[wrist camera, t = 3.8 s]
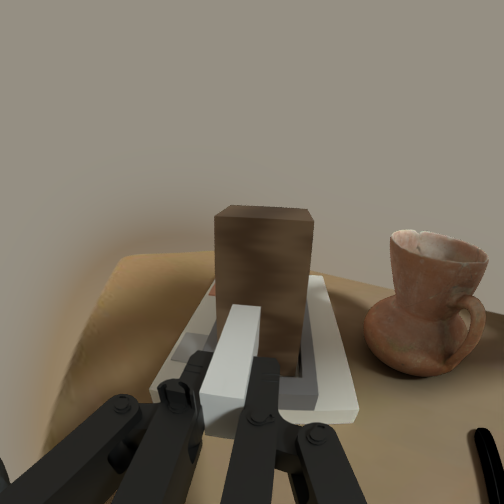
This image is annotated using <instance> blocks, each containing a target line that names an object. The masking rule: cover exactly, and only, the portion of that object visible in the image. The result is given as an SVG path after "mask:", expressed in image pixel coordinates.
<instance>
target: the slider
mask: <svg viewBox="0 0 504 504" xmlns="http://www.w3.org/2000/svg"><path fill="white" fill-rule="evenodd" d="M214 221H215V222H214V226H215V228H214V232H215V233H214V234H215V291H216V321H217V344H218V341H219V339H220V336H221V334H222V331H223V328H224V326H225V323H226V320H227V318H228V315H229V312H230V310H231V307H232V305H233V304H236V305H248V306H259V307H261V312H260V329H259V345H258V353H257V357H269V358H276V359H277V361H278V363H279V364H280V375H283V376H295V373H296V367H297V361H298V355H299V349H300V342H301V335H302V328H303V321H304V314H305V306H306V298H307V290H308V281H309V272H310V263H311V252H312V241H313V230H314V220H313V218H312V217H311V215H310V213H309V211H308V210H307V209H299V208H282V207H264V206H241V205H230V206H229V207H227V208H226V209H224V210H223V211H221V212H220V213H218V214H217V215H215V217H214Z"/></svg>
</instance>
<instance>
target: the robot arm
mask: <svg viewBox="0 0 504 504" xmlns="http://www.w3.org/2000/svg"><path fill="white" fill-rule="evenodd" d="M260 312H261V307H259V306H248V305H236V304H233V305H232V307H231V310H230V312H229V315H228V318H227V320H226V323H225V326H224V328H223V331H222V334H221V336H220V339H219V341H218V344H217V347H216V349H215V352H208V351H201V350H197V351H196V352H195V353H194V354H192V355H191V356H190V358H189V360H188V362H187V365H186V366H185V368H184V371H183V372H182V374H181V376H180V378H179V379H175V378H173V379H168V380H165V381H163V382H161V383H160V384H159V385H158V386H157V390H158V394H159V397H160V401H161V402H159V403H138V401H137V399H135V398H134V397H133V396H131V395H128V394H119V395H115V396H113V397H112V398H110V399H109V400H108V401H106V402H105V403H104V404H103V405H102V406H101V407H100V408H99V409H97V410H96V411H95V412H94V413H93V414H92V415H91V416H89V417H88V418H87V419H86V420H85V421H84V422H83V423H82V424H80V425H79V426H78V427H77V428H76V429H75V430H74V431H72V432H71V433H70V434H69V435H68V436H67V437H65V438H64V439H63V440H62V441H61V442H60V443H59V444H57V445H56V446H55V447H54V448H53V449H52V450H50V451H49V452H48V453H47V454H46V455H45V456H43V457H42V458H41V459H40V460H39V461H38V462H37V463H35V464H34V465H33V466H32V467H31V468H29V469H28V470H27V471H26V472H25V473H24V474H22V475H21V476H20V477H19V478H18V479H16V480H15V481H14V482H13V483H12V484H10V485H9V486H8V487H7V488H5V489H4V490H3V491H2V492H1V493H0V504H104V503H105V502H106V501H107V500H108V499H109V498H110V497H111V495H112V494H113V493H114V492H115V491H116V490H117V489H118V490H117V492H116V494H115V496H114V498H113V500H112V503H111V504H184V503H185V500H186V497H187V494H188V491H189V487H190V484H191V481H192V478H193V474H194V471H195V468H196V465H197V461H198V458H199V455H200V451H201V448H202V435H203V432H204V430H205V435H209V436H214V437H220V438H227V439H234V444H233V449H232V453H231V458H230V462H229V467H228V471H227V476H226V480H225V485H224V489H223V494H222V498H221V502H220V504H271V499H272V489H273V479H274V468H275V469H278V470H281V471H284V472H287V473H288V477H289V481H290V485H291V488H292V492H293V496H294V500H295V503H296V504H367V502H366V500H365V497H364V495H363V493H362V490H361V488H360V486H359V484H358V481H357V479H356V477H355V475H354V472H353V470H352V468H351V466H350V463H349V461H348V459H347V457H346V454H345V452H344V450H343V447H342V445H341V443H340V441H339V438H338V436H337V434H336V432H335V431H334V429H333V428H332V427H330V426H329V425H327V424H324V423H320V422H312V423H309V424H306V425H304V426H303V427H302V426H298V425H295V424H292V423H290V422H288V421H286V420H285V419H283V418H282V416H281V415H280V413H279V411H278V399H279V381H280V364H279V363H278V361H277V359H276V358H269V357H257V353H258V345H259V329H260Z"/></svg>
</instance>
